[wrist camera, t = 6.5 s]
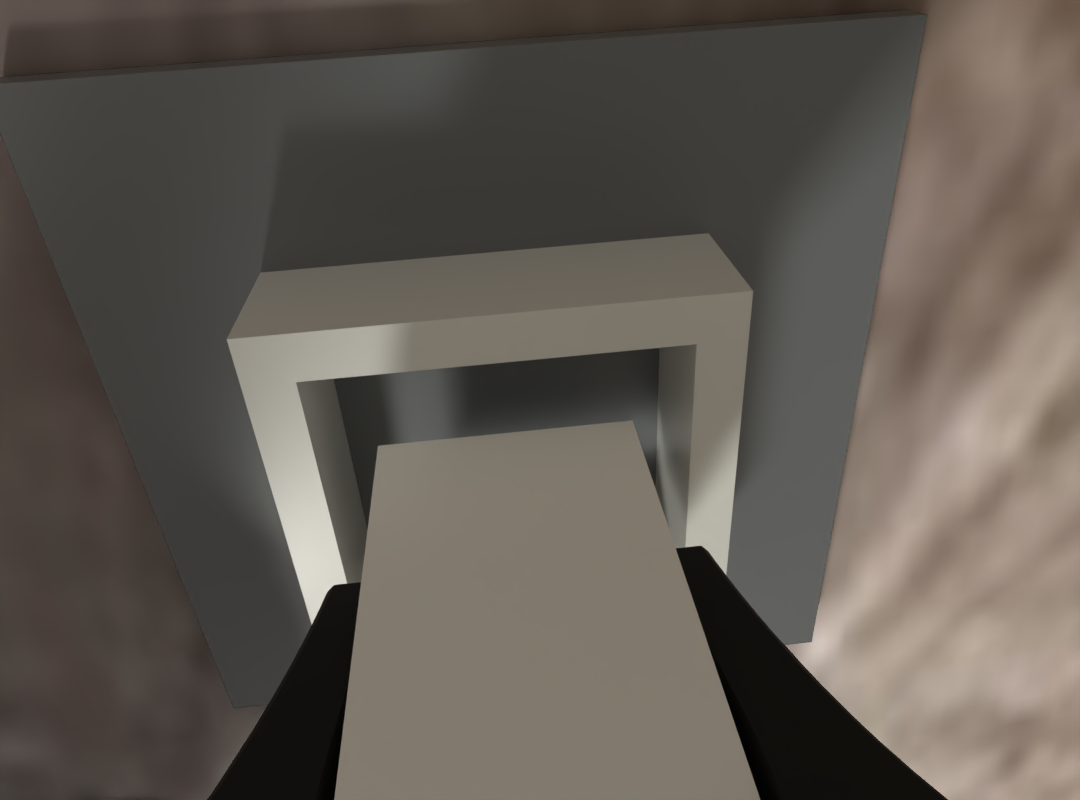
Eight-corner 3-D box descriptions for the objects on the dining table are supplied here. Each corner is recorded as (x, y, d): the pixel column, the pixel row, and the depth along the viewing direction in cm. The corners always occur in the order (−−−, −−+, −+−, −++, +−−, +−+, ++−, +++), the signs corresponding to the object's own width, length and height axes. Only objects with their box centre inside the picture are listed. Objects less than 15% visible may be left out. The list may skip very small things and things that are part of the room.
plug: (414, 621, 15) (392, 1113, 9) (377, 445, 12) (316, 948, 7) (630, 596, 15) (747, 1063, 9) (632, 420, 13) (789, 886, 7)
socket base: (239, 687, 19) (207, 805, 17) (0, 77, 12) (-120, 124, 9) (802, 623, 20) (853, 727, 18) (908, 9, 13) (1022, 37, 10)
